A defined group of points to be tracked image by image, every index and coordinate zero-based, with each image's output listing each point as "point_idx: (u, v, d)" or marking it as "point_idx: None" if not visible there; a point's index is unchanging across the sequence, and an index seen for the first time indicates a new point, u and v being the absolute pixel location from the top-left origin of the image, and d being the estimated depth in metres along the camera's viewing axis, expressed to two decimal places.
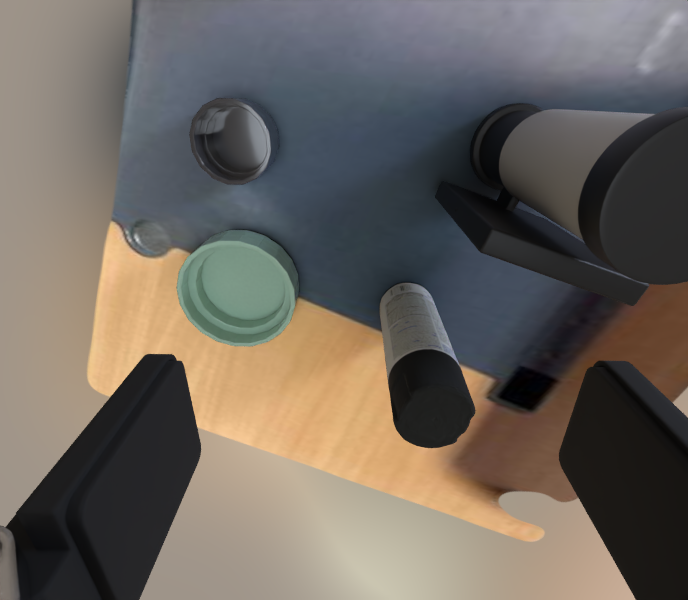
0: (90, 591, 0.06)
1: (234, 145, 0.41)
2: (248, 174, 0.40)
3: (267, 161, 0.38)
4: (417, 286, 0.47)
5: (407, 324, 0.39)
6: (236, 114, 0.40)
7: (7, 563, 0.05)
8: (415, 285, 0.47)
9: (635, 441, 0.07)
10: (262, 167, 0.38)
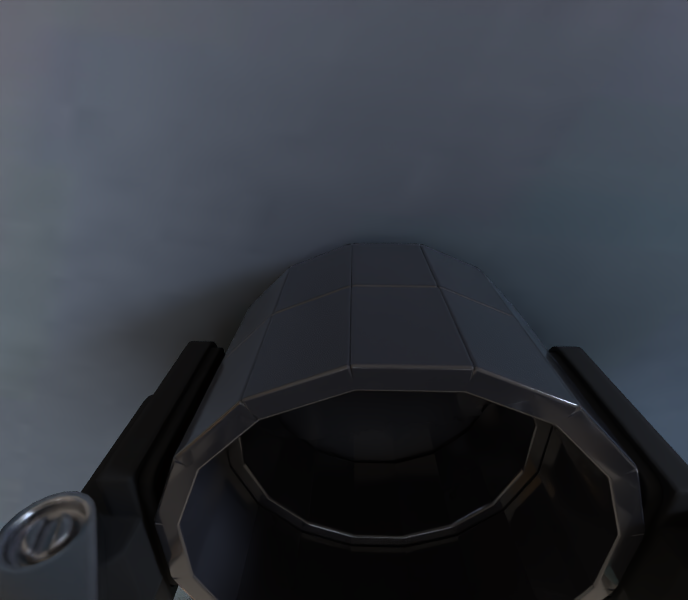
0: (155, 556, 0.07)
1: (343, 397, 0.11)
2: (411, 542, 0.10)
3: None
4: None
5: None
6: None
7: (92, 523, 0.05)
8: None
9: None
10: None
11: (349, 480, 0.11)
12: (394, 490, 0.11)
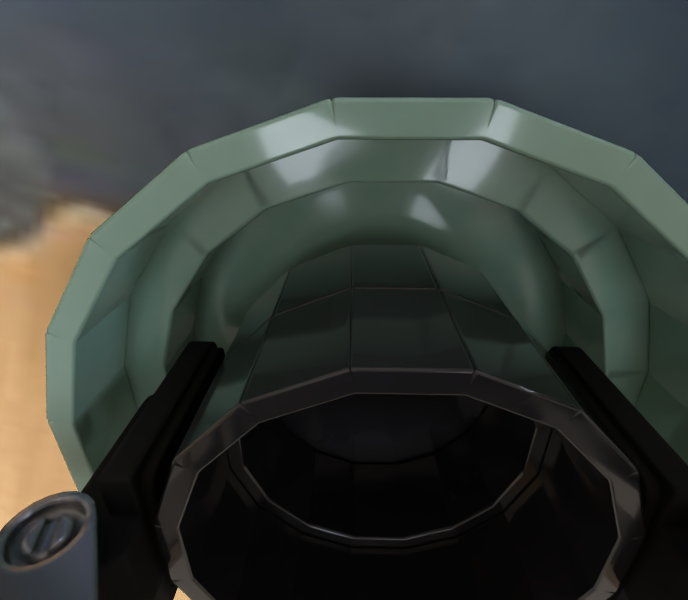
0: (155, 556, 0.07)
1: (343, 398, 0.11)
2: (411, 544, 0.10)
3: None
4: None
5: None
6: None
7: (92, 523, 0.05)
8: None
9: None
10: None
11: (349, 481, 0.11)
12: (394, 491, 0.11)
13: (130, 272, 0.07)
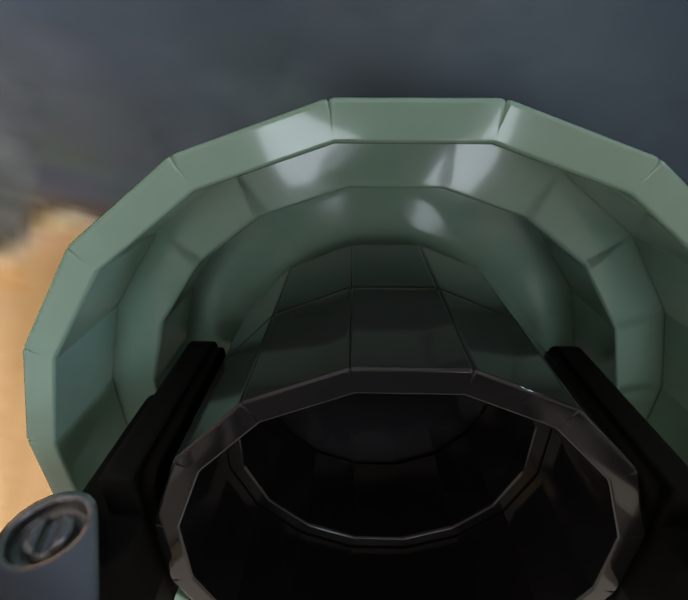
0: (156, 555, 0.07)
1: (343, 398, 0.11)
2: (411, 543, 0.10)
3: None
4: None
5: None
6: None
7: (94, 522, 0.05)
8: None
9: None
10: None
11: (349, 481, 0.11)
12: (394, 491, 0.11)
13: (115, 283, 0.07)
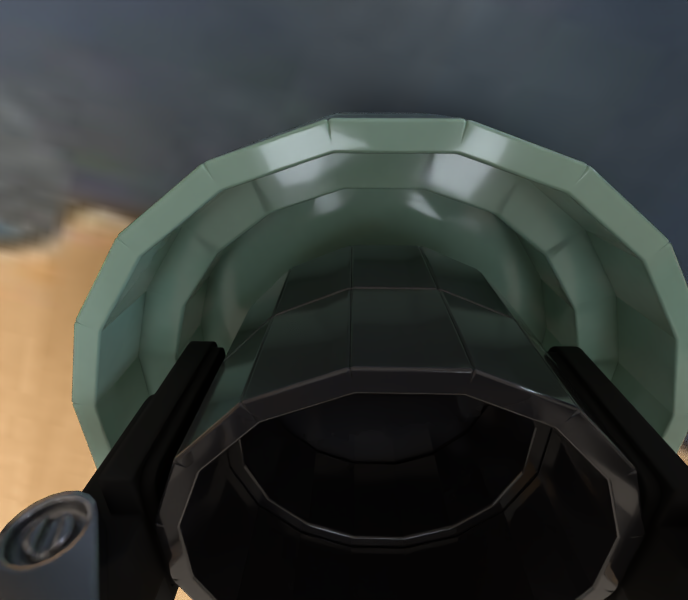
0: (155, 555, 0.07)
1: (343, 398, 0.11)
2: (411, 543, 0.10)
3: None
4: None
5: None
6: None
7: (93, 522, 0.05)
8: None
9: None
10: None
11: (349, 481, 0.11)
12: (394, 491, 0.11)
13: (148, 269, 0.08)
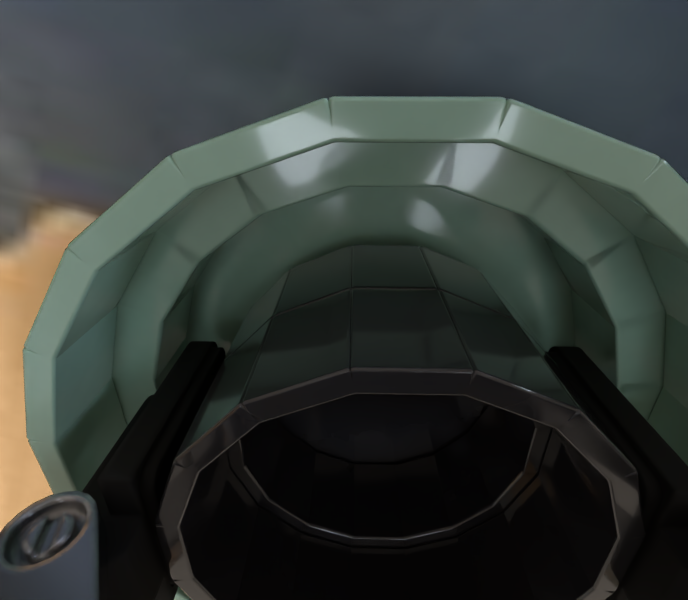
0: (156, 555, 0.07)
1: (343, 399, 0.11)
2: (411, 544, 0.10)
3: None
4: None
5: None
6: None
7: (93, 523, 0.05)
8: None
9: None
10: None
11: (349, 481, 0.11)
12: (394, 491, 0.11)
13: (115, 283, 0.07)
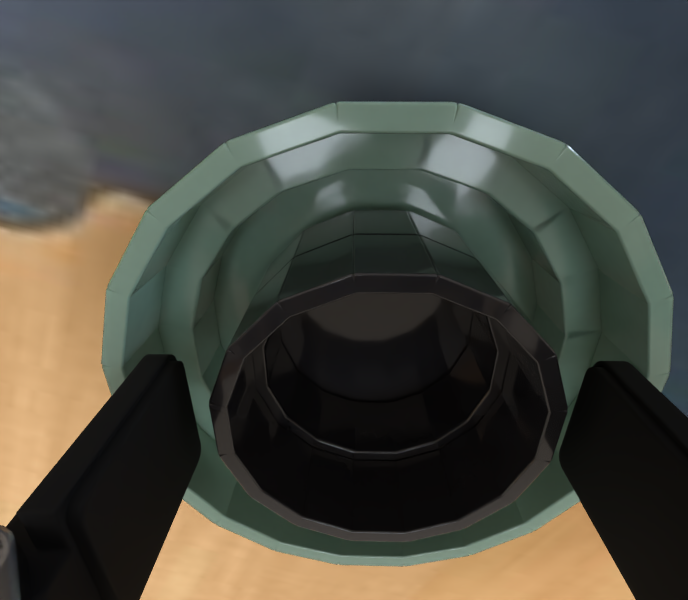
0: (90, 590, 0.06)
1: (345, 343, 0.13)
2: (402, 456, 0.12)
3: (524, 486, 0.09)
4: None
5: None
6: None
7: (7, 563, 0.05)
8: None
9: (635, 441, 0.07)
10: (498, 503, 0.09)
11: (351, 413, 0.13)
12: (388, 420, 0.13)
13: (171, 243, 0.09)
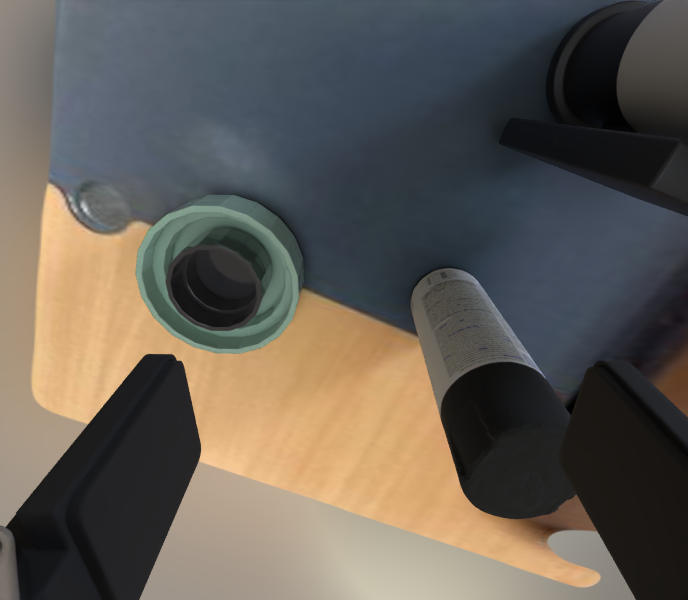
0: (89, 591, 0.06)
1: (220, 275, 0.36)
2: (236, 312, 0.35)
3: (257, 308, 0.32)
4: (463, 272, 0.35)
5: (462, 323, 0.27)
6: None
7: (7, 563, 0.05)
8: (460, 271, 0.35)
9: (635, 441, 0.07)
10: (251, 314, 0.32)
11: (223, 301, 0.36)
12: (236, 303, 0.36)
13: (155, 238, 0.32)
